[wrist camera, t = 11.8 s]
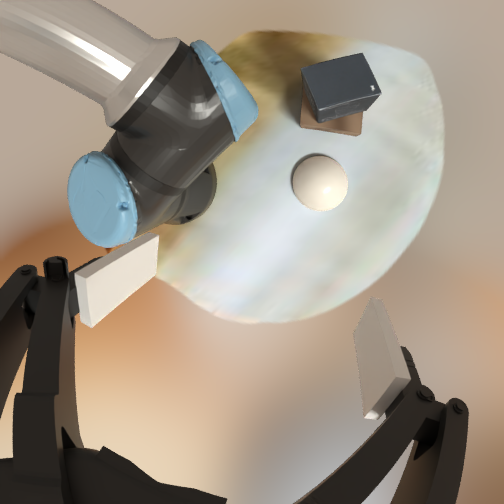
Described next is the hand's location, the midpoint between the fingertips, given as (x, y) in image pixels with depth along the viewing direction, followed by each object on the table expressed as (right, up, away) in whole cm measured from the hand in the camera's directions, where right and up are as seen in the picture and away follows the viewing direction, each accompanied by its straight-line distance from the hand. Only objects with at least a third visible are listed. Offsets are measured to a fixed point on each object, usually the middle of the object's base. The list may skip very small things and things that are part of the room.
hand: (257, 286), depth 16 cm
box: (+12, +24, +18) cm, 32 cm away
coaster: (+11, +13, +27) cm, 32 cm away
